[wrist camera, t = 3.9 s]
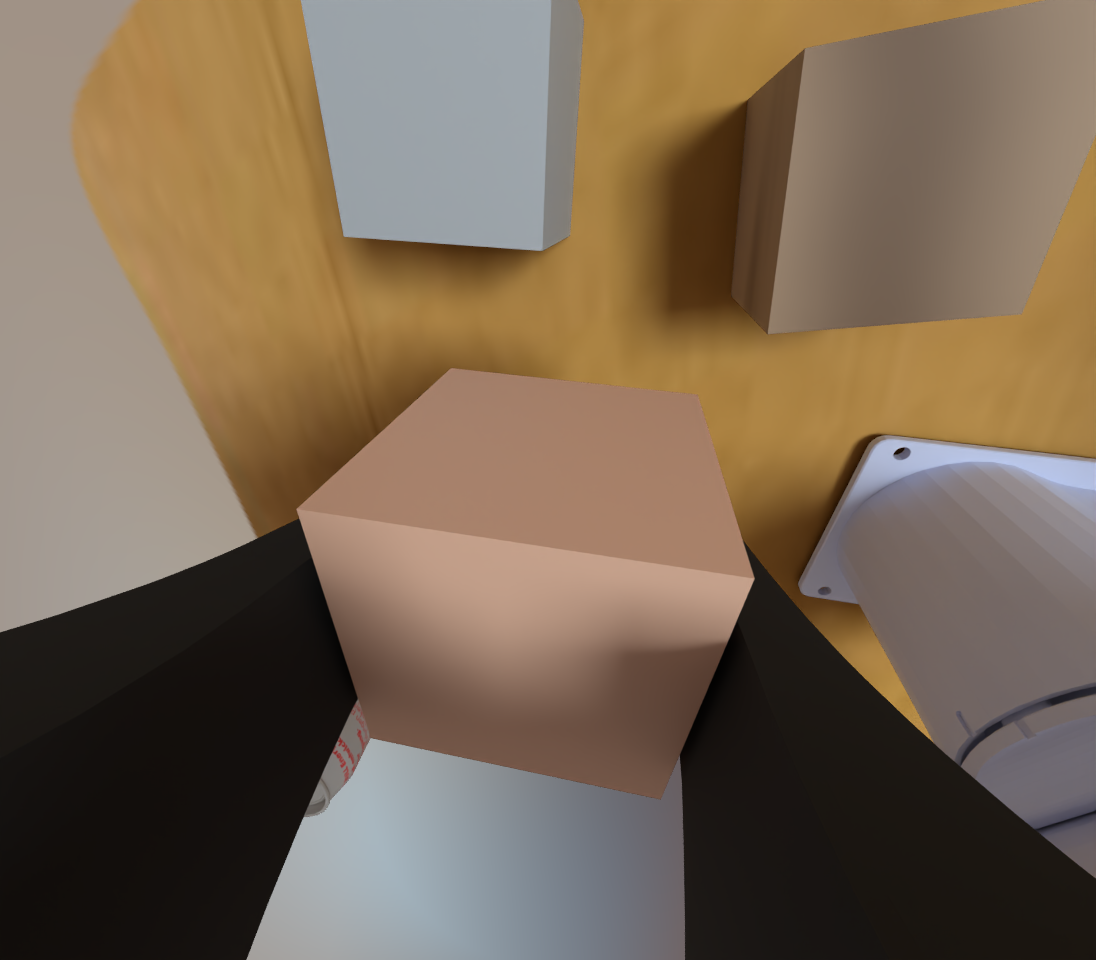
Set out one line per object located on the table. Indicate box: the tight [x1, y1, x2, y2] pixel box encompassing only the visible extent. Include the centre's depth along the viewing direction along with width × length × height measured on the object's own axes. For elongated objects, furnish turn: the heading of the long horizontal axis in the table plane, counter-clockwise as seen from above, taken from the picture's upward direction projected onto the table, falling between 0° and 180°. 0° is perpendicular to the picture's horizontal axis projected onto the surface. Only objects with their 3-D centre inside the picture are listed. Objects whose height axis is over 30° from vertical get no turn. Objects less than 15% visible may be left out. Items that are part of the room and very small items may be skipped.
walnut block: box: [731, 0, 1096, 334], centre depth 11 cm, size 5×5×5 cm
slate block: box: [301, 0, 584, 251], centre depth 11 cm, size 5×5×5 cm
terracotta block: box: [297, 368, 755, 799], centre depth 8 cm, size 5×5×5 cm
